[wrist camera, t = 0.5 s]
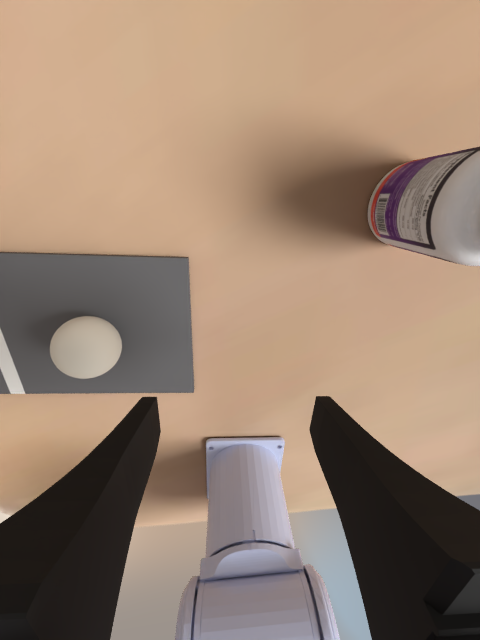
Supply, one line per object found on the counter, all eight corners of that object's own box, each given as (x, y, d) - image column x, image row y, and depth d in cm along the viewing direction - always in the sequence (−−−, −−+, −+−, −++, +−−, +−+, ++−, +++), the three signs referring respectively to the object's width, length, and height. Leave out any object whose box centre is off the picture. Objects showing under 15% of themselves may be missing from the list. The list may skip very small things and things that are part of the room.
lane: (194, 389, 24) (193, 392, 24) (-103, 391, 22) (-108, 394, 22) (188, 257, 19) (187, 258, 19) (-195, 246, 17) (-204, 247, 17)
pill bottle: (459, 190, 18) (683, 182, 9) (402, 258, 20) (545, 306, 11) (404, 142, 17) (606, 77, 8) (349, 219, 18) (463, 238, 10)
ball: (133, 356, 22) (113, 392, 18) (78, 356, 21) (44, 392, 17) (125, 307, 20) (101, 334, 16) (65, 306, 20) (24, 333, 16)
